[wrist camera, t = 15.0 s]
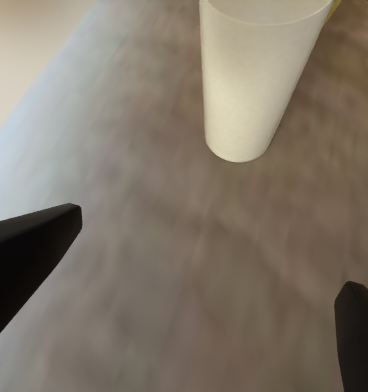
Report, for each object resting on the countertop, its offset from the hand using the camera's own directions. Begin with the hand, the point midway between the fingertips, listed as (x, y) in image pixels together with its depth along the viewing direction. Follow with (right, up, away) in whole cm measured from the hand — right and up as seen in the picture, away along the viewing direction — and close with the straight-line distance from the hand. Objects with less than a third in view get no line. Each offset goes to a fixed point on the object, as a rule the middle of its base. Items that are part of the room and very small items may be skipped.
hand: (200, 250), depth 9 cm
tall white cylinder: (+4, +8, +15) cm, 17 cm away
